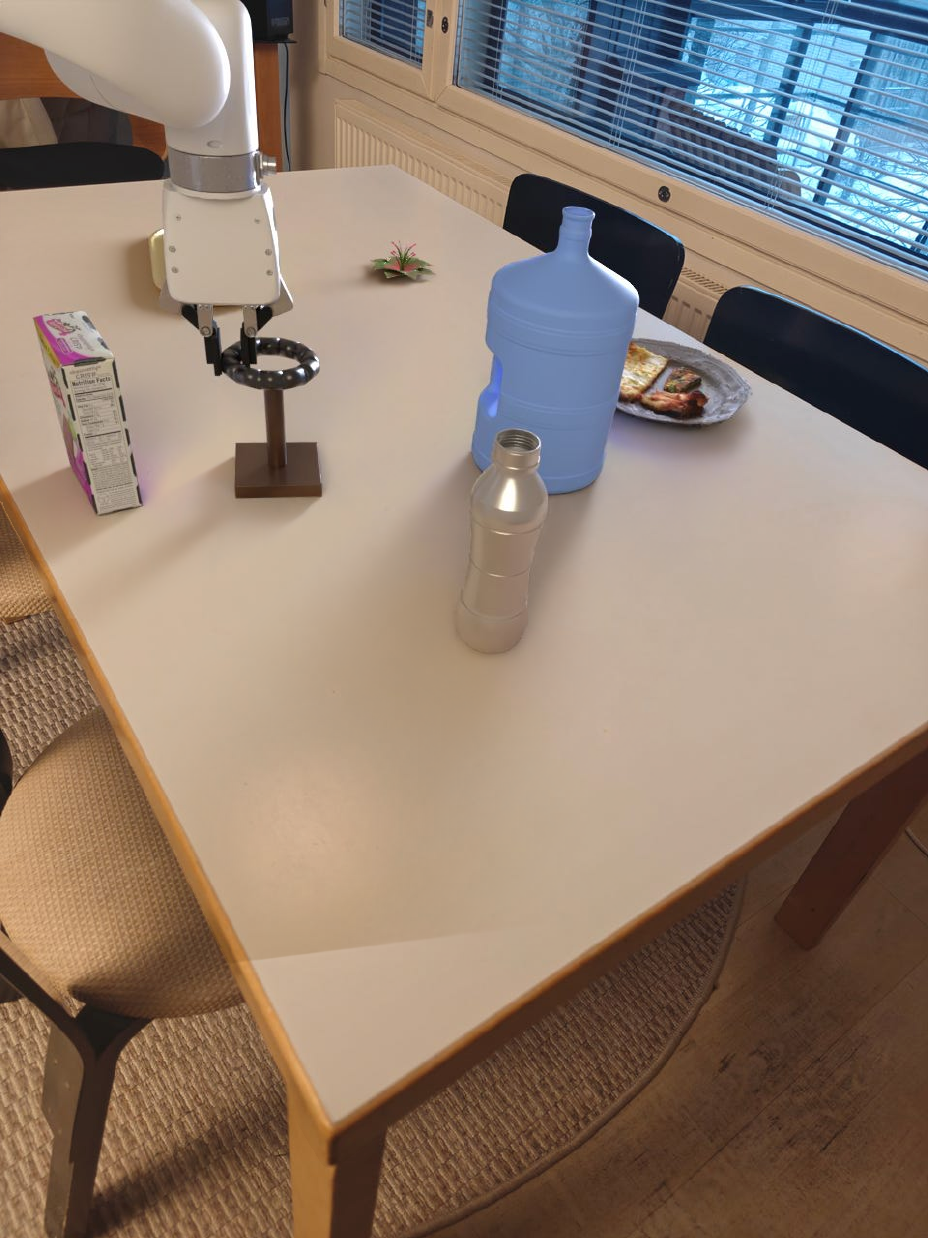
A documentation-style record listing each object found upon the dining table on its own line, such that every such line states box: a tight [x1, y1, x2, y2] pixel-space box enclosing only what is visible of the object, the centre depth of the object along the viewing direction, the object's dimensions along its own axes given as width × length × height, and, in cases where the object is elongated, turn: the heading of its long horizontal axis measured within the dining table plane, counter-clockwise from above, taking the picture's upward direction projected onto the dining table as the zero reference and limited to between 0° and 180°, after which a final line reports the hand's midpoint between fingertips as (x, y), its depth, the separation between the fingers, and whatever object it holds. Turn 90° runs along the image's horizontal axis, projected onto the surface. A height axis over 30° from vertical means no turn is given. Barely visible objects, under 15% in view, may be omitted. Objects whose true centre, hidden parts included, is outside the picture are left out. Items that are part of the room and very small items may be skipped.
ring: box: [221, 336, 321, 391], centre depth 86 cm, size 10×10×2 cm
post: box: [233, 390, 323, 499], centre depth 91 cm, size 9×9×12 cm
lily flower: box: [369, 240, 437, 281], centre depth 144 cm, size 12×12×5 cm
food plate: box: [615, 337, 753, 429], centre depth 118 cm, size 25×23×4 cm
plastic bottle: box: [454, 429, 550, 654], centre depth 71 cm, size 6×7×20 cm
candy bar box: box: [32, 310, 144, 517], centre depth 85 cm, size 11×5×16 cm, turn 32°
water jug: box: [470, 206, 640, 495], centre depth 93 cm, size 16×16×28 cm
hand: (232, 368), depth 86 cm, fingers closed on ring, 2 cm apart
